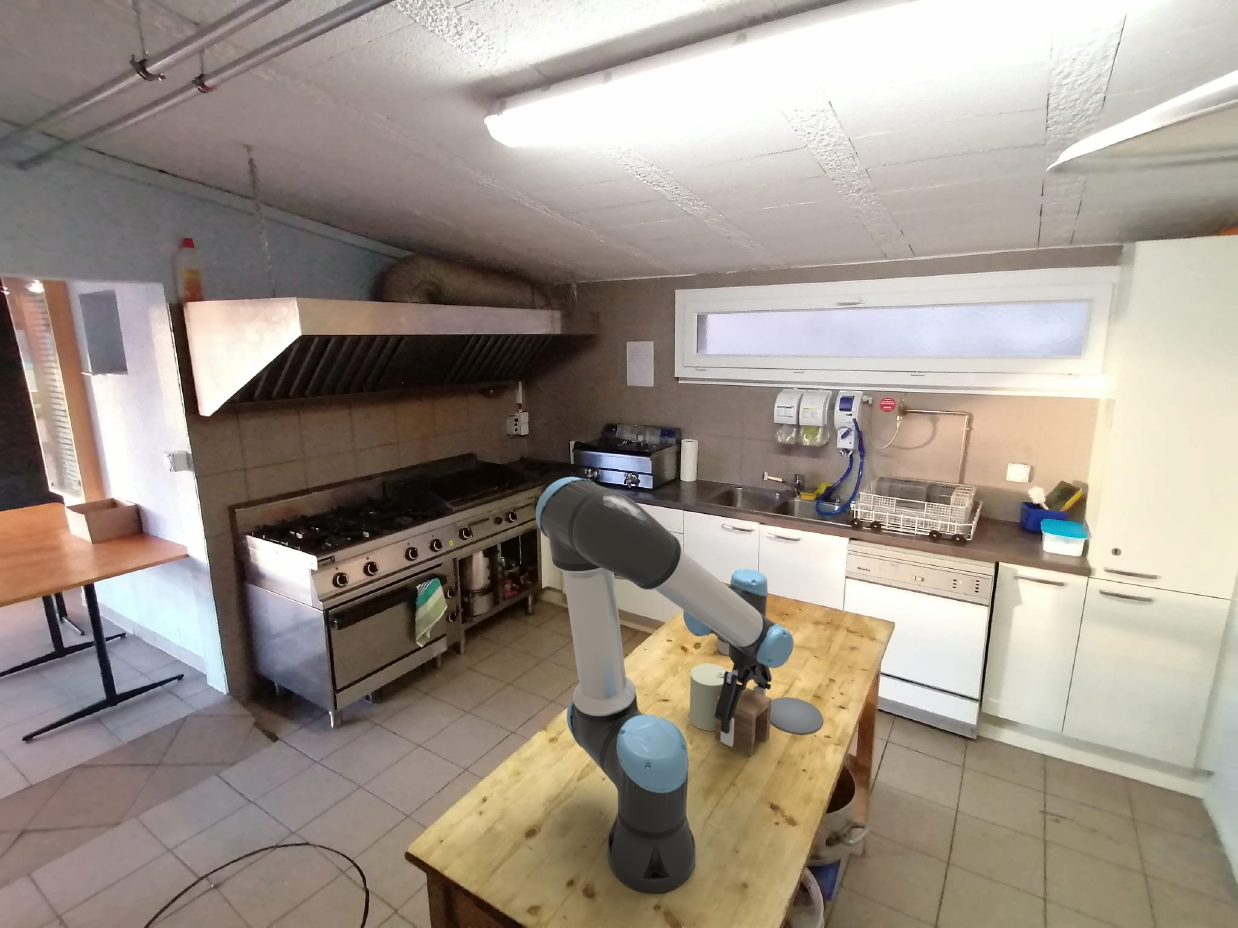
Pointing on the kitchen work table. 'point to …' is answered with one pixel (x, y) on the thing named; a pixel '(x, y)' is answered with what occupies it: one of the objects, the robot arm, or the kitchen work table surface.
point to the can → (705, 694)
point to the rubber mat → (795, 716)
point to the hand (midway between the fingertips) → (743, 727)
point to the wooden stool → (748, 721)
